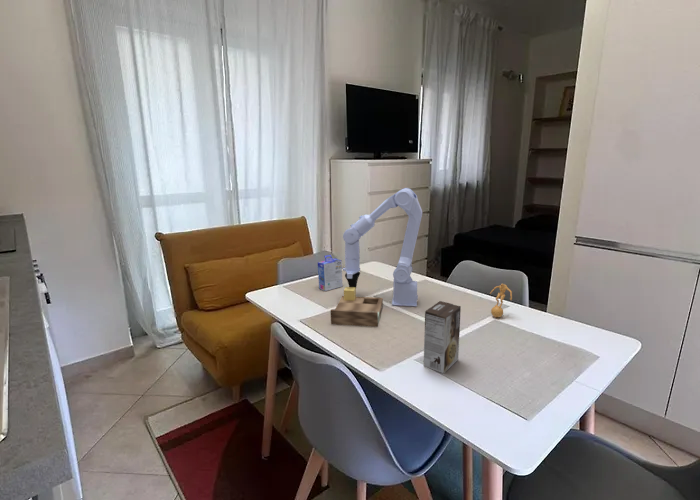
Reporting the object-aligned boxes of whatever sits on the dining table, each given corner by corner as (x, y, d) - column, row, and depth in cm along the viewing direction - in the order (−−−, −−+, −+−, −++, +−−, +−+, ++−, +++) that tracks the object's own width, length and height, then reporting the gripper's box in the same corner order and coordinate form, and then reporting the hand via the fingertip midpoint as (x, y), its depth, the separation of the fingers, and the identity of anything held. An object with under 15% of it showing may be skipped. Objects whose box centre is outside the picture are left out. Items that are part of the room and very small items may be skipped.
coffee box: (437, 352, 108) (439, 300, 105) (458, 359, 104) (462, 305, 101) (422, 366, 102) (424, 310, 98) (444, 374, 98) (447, 316, 94)
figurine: (483, 314, 134) (485, 282, 132) (493, 310, 138) (495, 279, 135) (504, 322, 128) (507, 288, 125) (514, 317, 131) (517, 285, 128)
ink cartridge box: (335, 283, 171) (335, 252, 168) (343, 286, 167) (342, 255, 164) (317, 288, 165) (316, 256, 162) (325, 291, 161) (324, 259, 158)
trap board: (382, 303, 146) (382, 291, 145) (377, 326, 126) (377, 312, 125) (342, 301, 149) (342, 289, 148) (330, 324, 129) (330, 310, 127)
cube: (355, 297, 147) (355, 287, 146) (354, 300, 143) (354, 290, 142) (345, 296, 147) (345, 286, 146) (343, 300, 144) (343, 290, 143)
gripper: (345, 253, 156) (346, 284, 159) (338, 262, 142) (339, 296, 145) (362, 253, 155) (362, 284, 158) (357, 262, 141) (357, 297, 144)
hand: (352, 290), depth 152 cm, fingers closed
